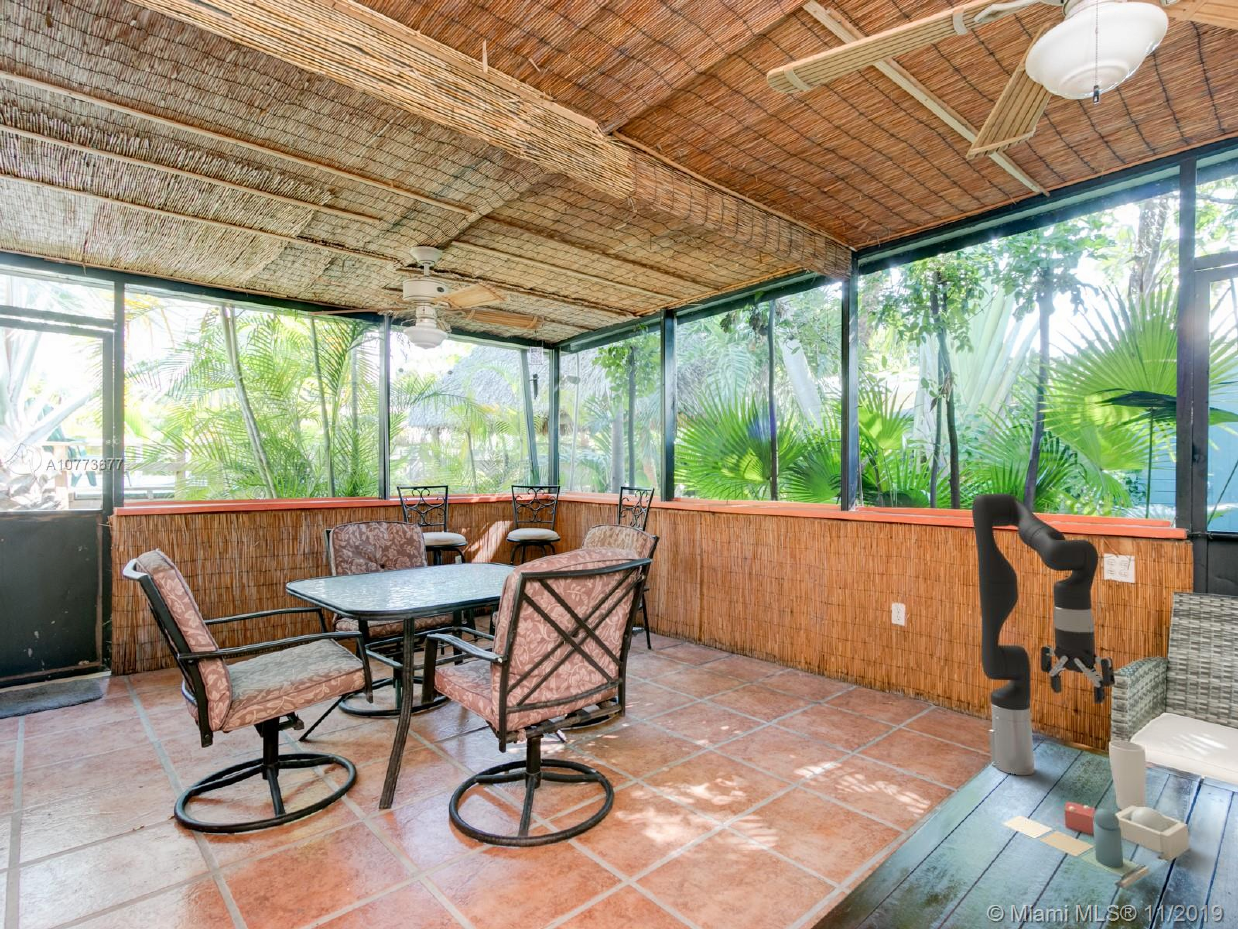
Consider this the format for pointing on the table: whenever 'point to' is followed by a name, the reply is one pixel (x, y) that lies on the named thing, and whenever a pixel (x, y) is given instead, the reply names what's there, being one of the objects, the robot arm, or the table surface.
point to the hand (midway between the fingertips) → (1077, 697)
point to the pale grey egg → (1149, 818)
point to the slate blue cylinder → (1107, 839)
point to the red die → (1079, 817)
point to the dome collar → (1155, 835)
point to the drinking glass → (1128, 773)
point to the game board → (1074, 848)
